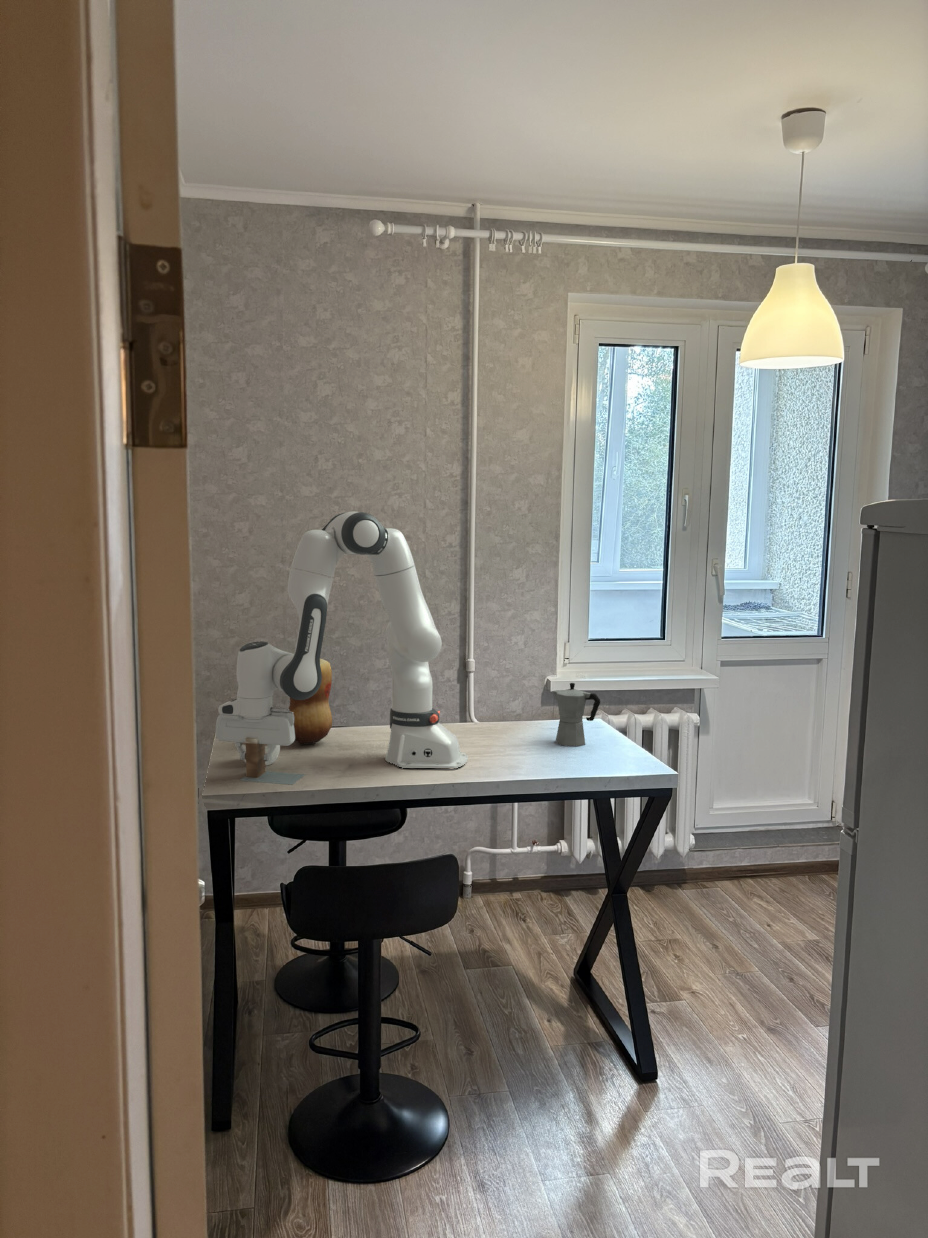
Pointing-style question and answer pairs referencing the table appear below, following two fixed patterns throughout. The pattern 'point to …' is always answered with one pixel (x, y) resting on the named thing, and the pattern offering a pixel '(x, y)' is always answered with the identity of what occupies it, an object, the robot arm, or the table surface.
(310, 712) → the butternut squash
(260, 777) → the slate mat
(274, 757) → the lidded jar
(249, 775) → the brown and white block
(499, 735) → the table surface
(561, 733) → the coffeepot
